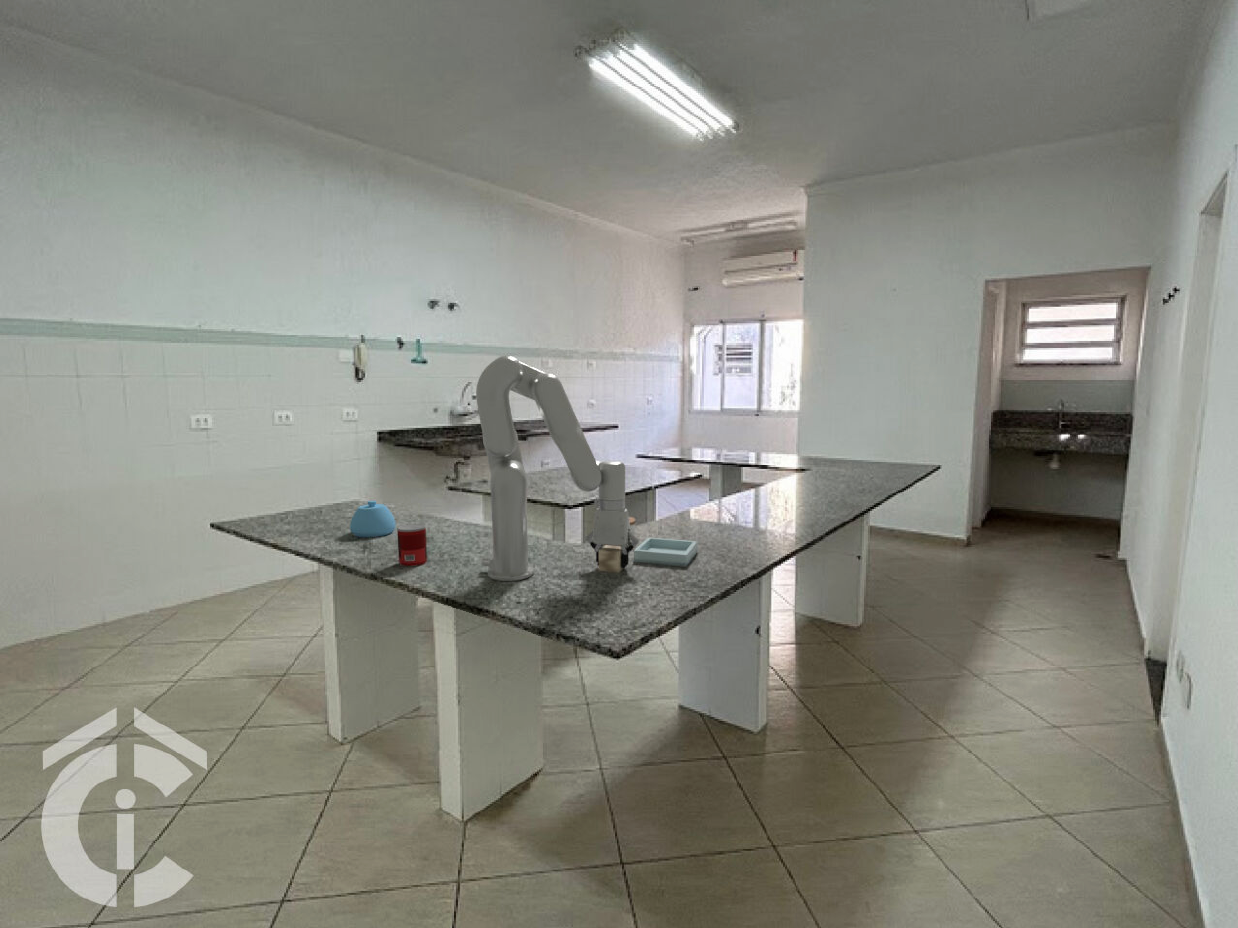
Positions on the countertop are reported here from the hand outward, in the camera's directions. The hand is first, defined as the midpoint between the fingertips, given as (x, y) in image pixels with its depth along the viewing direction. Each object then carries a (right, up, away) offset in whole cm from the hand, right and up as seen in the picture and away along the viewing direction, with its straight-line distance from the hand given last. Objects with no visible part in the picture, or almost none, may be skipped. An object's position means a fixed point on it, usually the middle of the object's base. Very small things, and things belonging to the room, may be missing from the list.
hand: (612, 565), depth 178 cm
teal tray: (+16, +1, +11) cm, 20 cm away
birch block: (0, -1, 0) cm, 1 cm away
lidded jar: (+2, +3, +29) cm, 29 cm away
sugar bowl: (-85, +4, +42) cm, 95 cm away
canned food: (-59, -1, +6) cm, 59 cm away
